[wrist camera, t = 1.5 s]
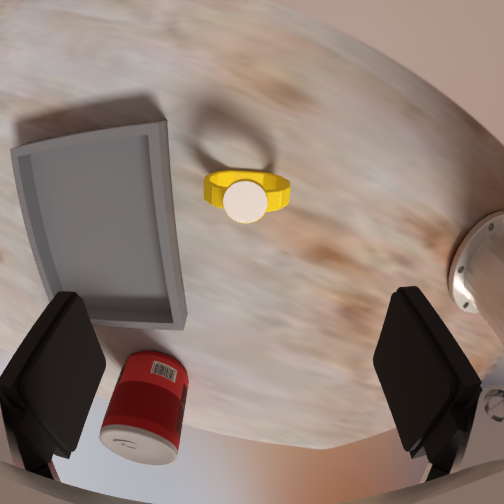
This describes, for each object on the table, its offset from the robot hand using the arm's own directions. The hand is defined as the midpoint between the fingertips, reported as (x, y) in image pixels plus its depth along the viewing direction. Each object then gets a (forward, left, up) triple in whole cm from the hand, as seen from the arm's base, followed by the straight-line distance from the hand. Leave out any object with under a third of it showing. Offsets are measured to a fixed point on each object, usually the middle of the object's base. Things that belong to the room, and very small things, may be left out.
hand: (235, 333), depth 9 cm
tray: (+13, +4, -17) cm, 22 cm away
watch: (0, 0, -18) cm, 18 cm away
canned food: (+11, +22, -18) cm, 30 cm away
